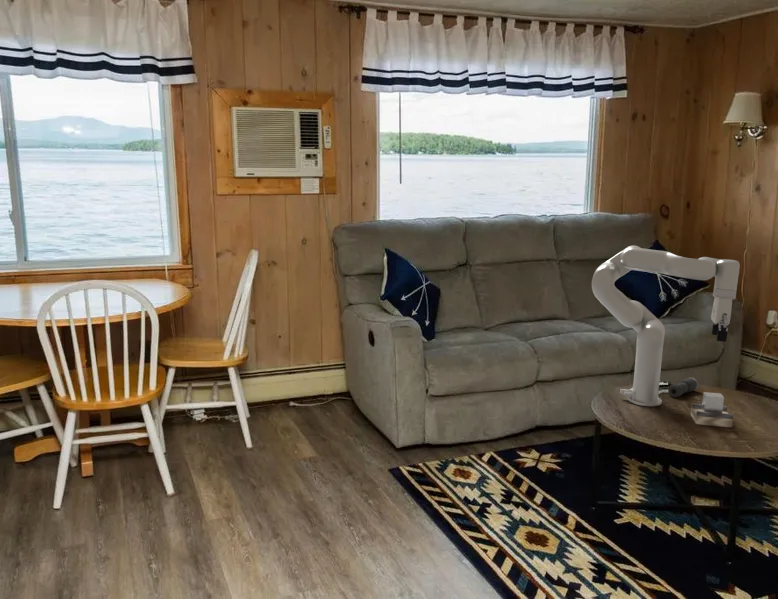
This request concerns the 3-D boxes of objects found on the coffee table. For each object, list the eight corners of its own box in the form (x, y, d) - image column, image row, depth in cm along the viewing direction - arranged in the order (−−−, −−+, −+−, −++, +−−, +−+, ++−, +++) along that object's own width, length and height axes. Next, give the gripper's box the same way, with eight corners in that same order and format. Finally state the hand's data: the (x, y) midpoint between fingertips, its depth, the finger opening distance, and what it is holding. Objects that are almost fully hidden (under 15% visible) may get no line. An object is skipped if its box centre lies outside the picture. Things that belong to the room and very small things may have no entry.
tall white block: (704, 414, 247) (706, 396, 245) (701, 410, 251) (703, 392, 250) (722, 415, 245) (724, 397, 244) (719, 411, 250) (721, 393, 248)
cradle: (696, 424, 245) (697, 412, 244) (690, 414, 255) (691, 403, 254) (732, 427, 243) (733, 415, 242) (724, 417, 252) (726, 405, 252)
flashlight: (679, 399, 272) (680, 386, 271) (666, 396, 276) (667, 383, 275) (697, 391, 282) (698, 379, 280) (684, 388, 286) (685, 376, 284)
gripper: (709, 288, 259) (704, 331, 262) (717, 296, 242) (712, 342, 246) (730, 289, 257) (725, 333, 260) (740, 298, 240) (734, 344, 244)
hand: (718, 338), depth 253 cm, fingers open, 9 cm apart
